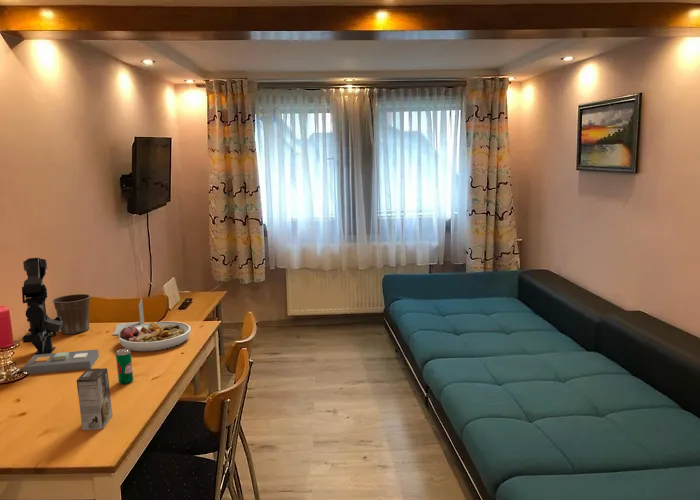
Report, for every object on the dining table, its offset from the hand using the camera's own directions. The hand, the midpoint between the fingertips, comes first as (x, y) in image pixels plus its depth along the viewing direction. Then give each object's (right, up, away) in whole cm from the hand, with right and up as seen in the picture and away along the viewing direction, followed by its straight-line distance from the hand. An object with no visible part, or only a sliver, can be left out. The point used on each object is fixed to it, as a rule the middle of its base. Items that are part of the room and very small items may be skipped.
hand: (41, 352), depth 222 cm
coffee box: (+43, -13, -47) cm, 65 cm away
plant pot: (-10, +2, +48) cm, 49 cm away
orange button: (0, -5, +1) cm, 5 cm away
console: (+7, -5, +3) cm, 9 cm away
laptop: (+15, +2, +49) cm, 51 cm away
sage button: (+7, -4, +2) cm, 8 cm away
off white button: (+14, -4, +4) cm, 15 cm away
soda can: (+39, -8, -16) cm, 43 cm away
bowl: (+35, -1, +28) cm, 45 cm away
